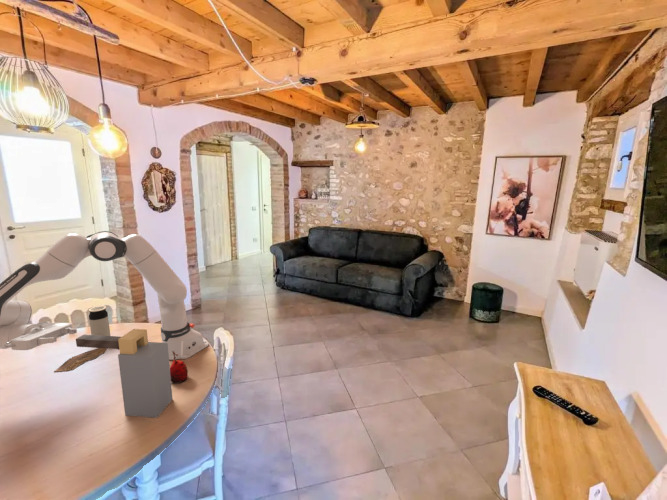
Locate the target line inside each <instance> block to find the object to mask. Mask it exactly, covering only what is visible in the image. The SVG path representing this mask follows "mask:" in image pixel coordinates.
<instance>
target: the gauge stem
mask: <svg viewBox="0 0 667 500" xmlns="http://www.w3.org/2000/svg"><path fill="white" fill-rule="evenodd" d="M121 337H122V336H118V335H117V336H116V335H115V336H114V335H110V336H100V335H91V334H82V335H80V336H78V337H76V338H75V343H76V347H77V348H92V349H97V348H107V349H110V350H112V349H113V350H119V342H118V339H119V338H121Z"/></svg>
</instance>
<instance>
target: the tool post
mask: <svg viewBox="0 0 667 500" xmlns="http://www.w3.org/2000/svg"><path fill="white" fill-rule="evenodd" d="M120 337H121V338H119V339H118V342H119V349H118V350H119V354H118V355H117V358H118V366H119V368H118V369H119V376H120V382H121V392H122V399H123V400H122V401H123V408H124V409H123V410H124V416H129V417H131V416H132V417H144V418H145V417H146V418H156V419H158V417H159V416H160V415H161V414H162V412H163V411H164V410H165V409H166V408H167V407H168V405H169V404H171V402H172V401H173V389H172V382H171V376H170V366H171V365H170V360H169V353H168V343H162V342H157V341H156V342H155V341H149V340H148V329H144V328H134V329H131V330H130V331H129V332H126V333H125V334H123V335H122V336H120Z"/></svg>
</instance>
